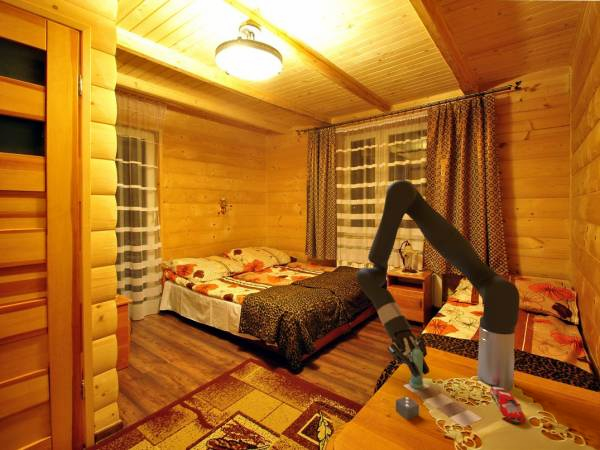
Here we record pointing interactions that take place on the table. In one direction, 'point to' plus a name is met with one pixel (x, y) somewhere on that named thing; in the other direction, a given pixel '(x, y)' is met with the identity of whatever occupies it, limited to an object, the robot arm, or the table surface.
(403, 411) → the die
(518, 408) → the race car
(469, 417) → the board
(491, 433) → the table surface
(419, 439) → the table surface
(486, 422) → the table surface
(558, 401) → the table surface
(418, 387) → the pawn
